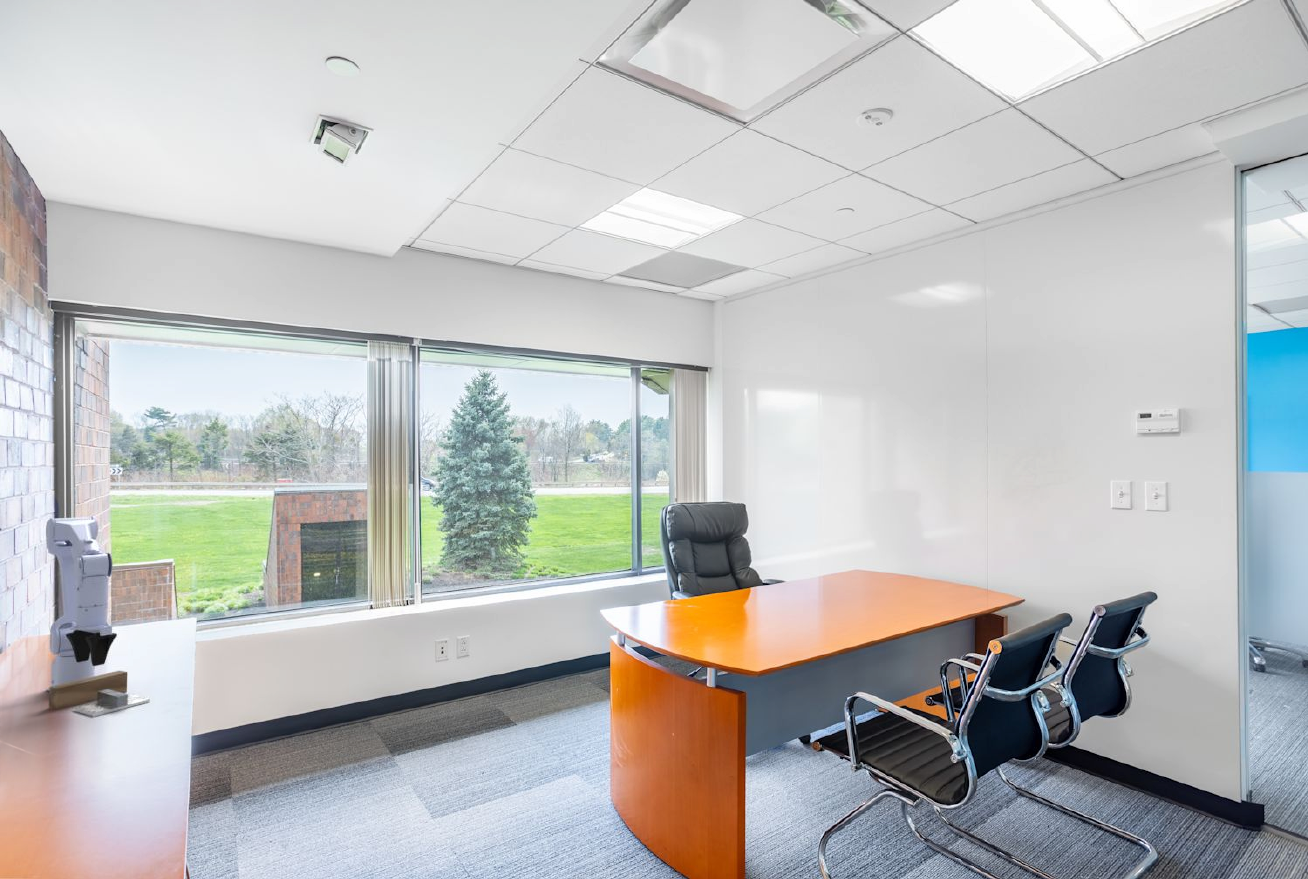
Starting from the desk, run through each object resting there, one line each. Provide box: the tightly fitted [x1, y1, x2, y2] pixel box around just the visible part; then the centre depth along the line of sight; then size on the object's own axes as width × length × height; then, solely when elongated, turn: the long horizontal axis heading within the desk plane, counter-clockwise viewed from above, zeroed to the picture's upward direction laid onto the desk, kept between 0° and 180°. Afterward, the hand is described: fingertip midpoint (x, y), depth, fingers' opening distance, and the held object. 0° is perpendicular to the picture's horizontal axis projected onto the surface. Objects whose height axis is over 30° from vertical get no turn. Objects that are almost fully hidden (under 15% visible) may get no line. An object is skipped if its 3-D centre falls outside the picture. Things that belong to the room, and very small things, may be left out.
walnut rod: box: [48, 670, 128, 711], centre depth 159 cm, size 4×14×5 cm, turn 155°
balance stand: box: [72, 689, 151, 718], centre depth 155 cm, size 9×11×3 cm
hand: (90, 663), depth 160 cm, fingers open, 7 cm apart
